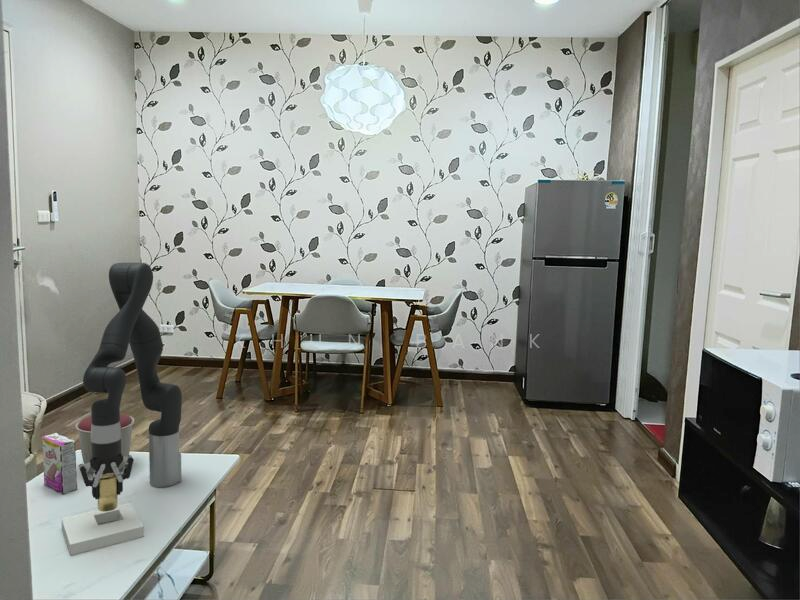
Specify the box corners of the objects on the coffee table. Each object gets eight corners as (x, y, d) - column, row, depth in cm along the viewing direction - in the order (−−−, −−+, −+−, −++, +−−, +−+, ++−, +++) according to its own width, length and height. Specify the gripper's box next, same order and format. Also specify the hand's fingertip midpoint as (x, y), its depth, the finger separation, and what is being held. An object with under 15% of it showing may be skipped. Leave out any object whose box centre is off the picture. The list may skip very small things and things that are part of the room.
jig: (130, 512, 182) (130, 502, 181) (143, 536, 169) (143, 526, 169) (61, 528, 171) (61, 518, 171) (70, 555, 159) (70, 544, 158)
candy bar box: (42, 485, 196) (40, 436, 194) (58, 480, 201) (56, 432, 198) (62, 495, 191) (60, 444, 188) (78, 489, 195) (76, 440, 192)
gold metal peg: (115, 501, 176) (115, 471, 174) (119, 508, 172) (118, 478, 170) (96, 505, 173) (95, 475, 171) (99, 513, 169) (98, 482, 167)
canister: (127, 479, 203) (126, 418, 200) (68, 480, 200) (66, 418, 197) (141, 457, 221) (139, 400, 218) (87, 458, 218) (85, 401, 215)
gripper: (130, 429, 176) (131, 485, 179) (75, 437, 168) (76, 496, 170) (137, 437, 170) (137, 495, 173) (79, 446, 162) (81, 507, 164)
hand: (107, 495), depth 172 cm, fingers closed on gold metal peg, 5 cm apart
